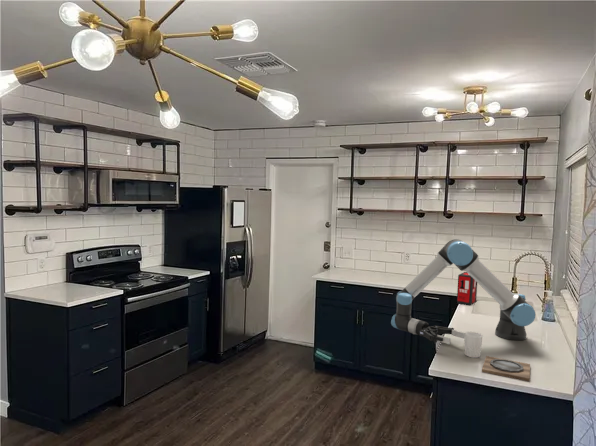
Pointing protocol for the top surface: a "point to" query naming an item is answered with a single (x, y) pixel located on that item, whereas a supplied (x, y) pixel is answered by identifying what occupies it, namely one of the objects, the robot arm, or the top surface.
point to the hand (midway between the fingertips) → (457, 338)
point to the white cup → (472, 344)
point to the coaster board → (506, 368)
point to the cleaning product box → (466, 289)
